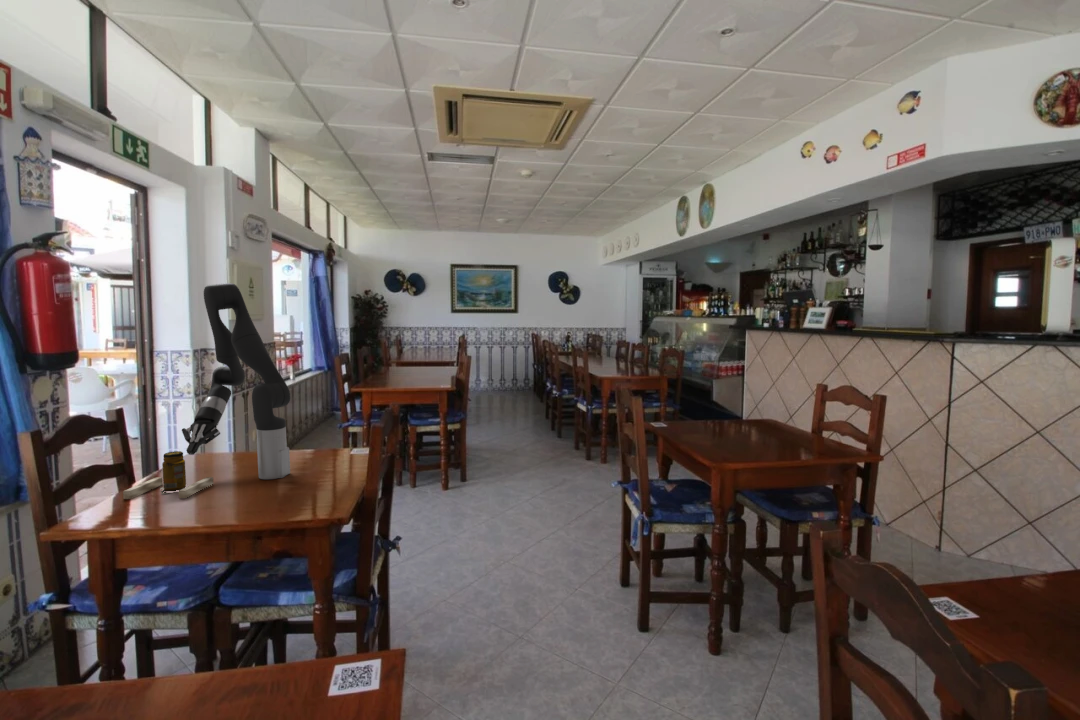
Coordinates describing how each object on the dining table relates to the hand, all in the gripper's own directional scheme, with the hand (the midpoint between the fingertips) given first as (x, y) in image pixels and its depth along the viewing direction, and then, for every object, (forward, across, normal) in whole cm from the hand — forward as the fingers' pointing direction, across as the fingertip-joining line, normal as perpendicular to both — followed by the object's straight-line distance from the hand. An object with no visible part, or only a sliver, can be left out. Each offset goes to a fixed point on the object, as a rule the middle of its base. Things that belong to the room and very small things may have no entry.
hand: (190, 453), depth 176 cm
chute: (+14, 0, -1) cm, 14 cm away
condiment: (+13, 0, +1) cm, 13 cm away
